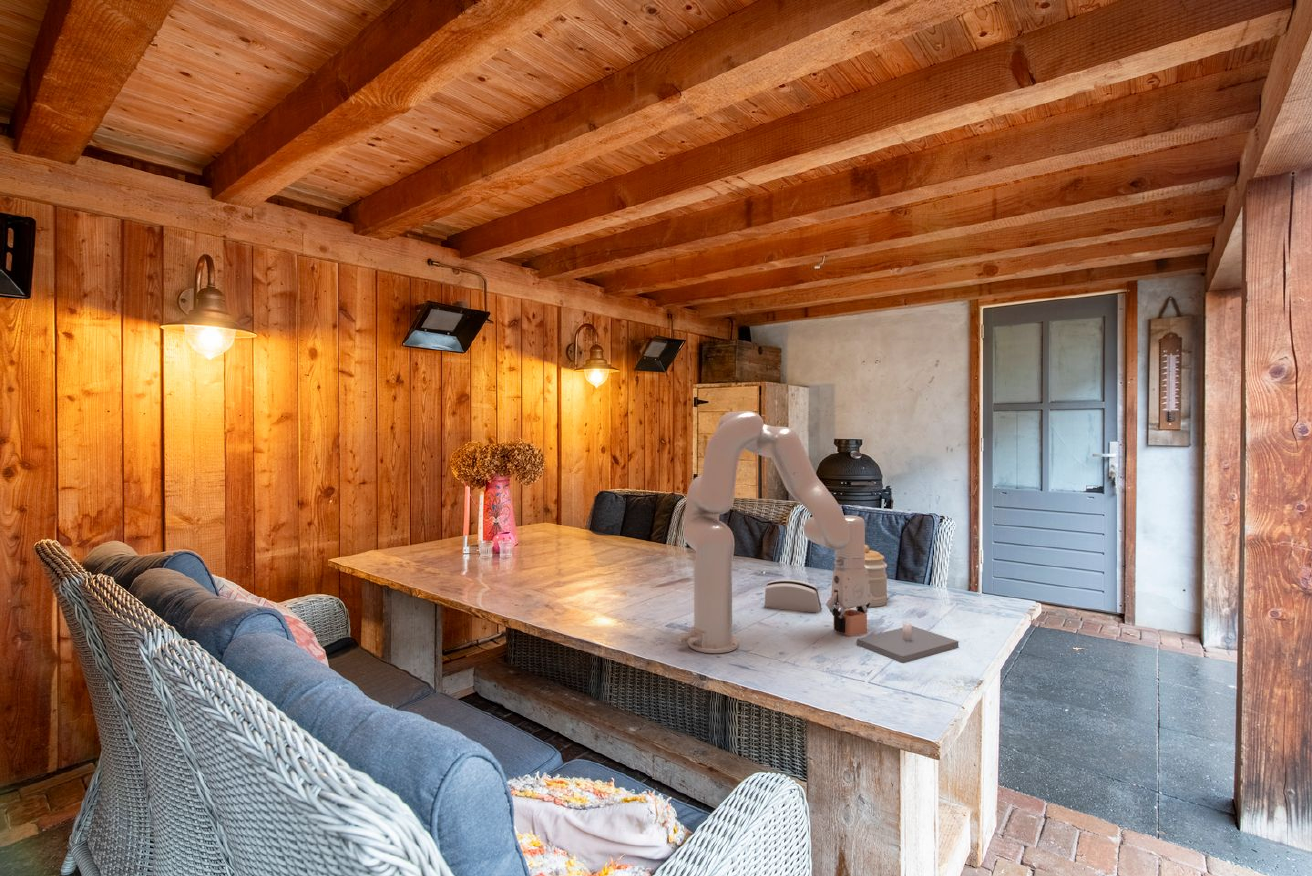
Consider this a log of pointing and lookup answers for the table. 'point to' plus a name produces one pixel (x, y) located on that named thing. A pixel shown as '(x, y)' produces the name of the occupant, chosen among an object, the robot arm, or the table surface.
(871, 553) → the jar
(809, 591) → the half-round card holder
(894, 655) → the post plate
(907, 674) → the table surface
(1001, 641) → the table surface
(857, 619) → the collar
